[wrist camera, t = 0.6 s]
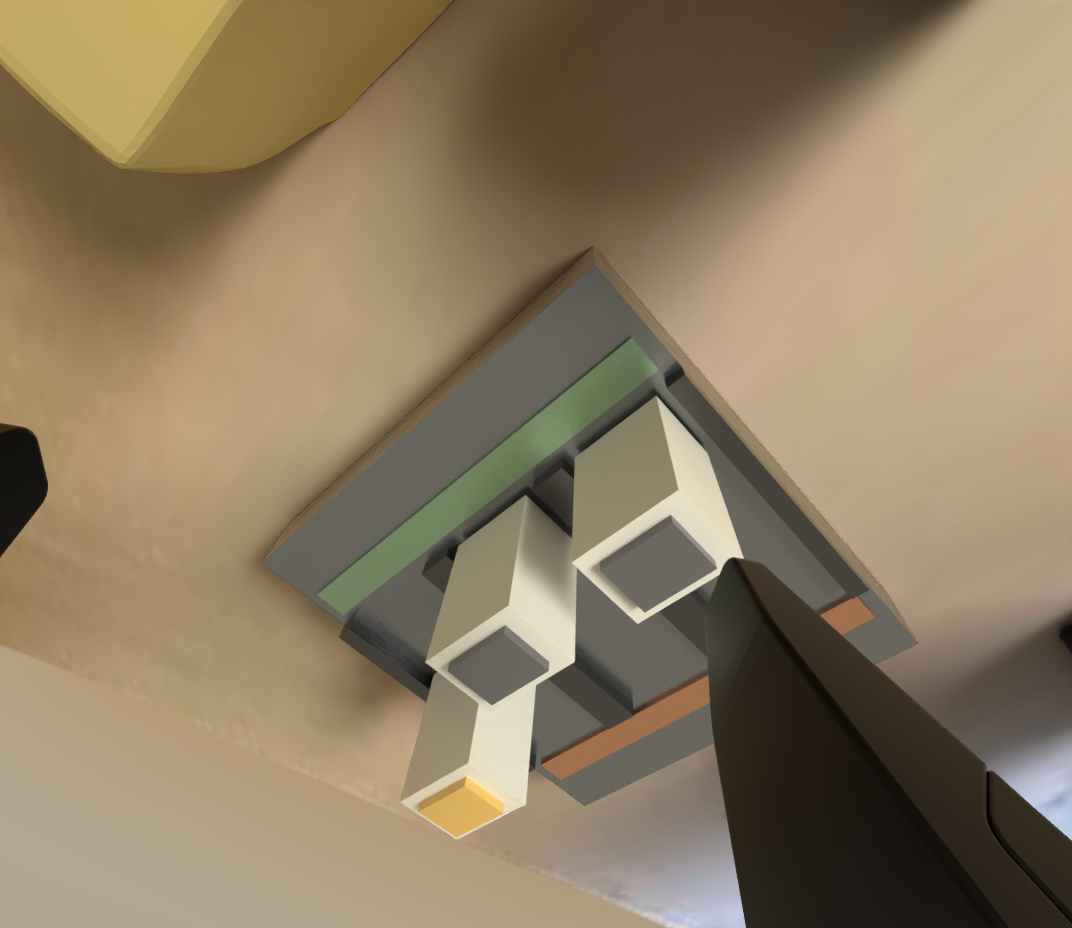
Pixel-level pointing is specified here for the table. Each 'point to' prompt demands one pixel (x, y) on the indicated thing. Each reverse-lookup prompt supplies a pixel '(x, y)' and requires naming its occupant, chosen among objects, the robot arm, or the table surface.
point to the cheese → (202, 71)
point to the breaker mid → (507, 608)
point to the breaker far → (469, 759)
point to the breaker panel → (567, 528)
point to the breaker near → (649, 513)
